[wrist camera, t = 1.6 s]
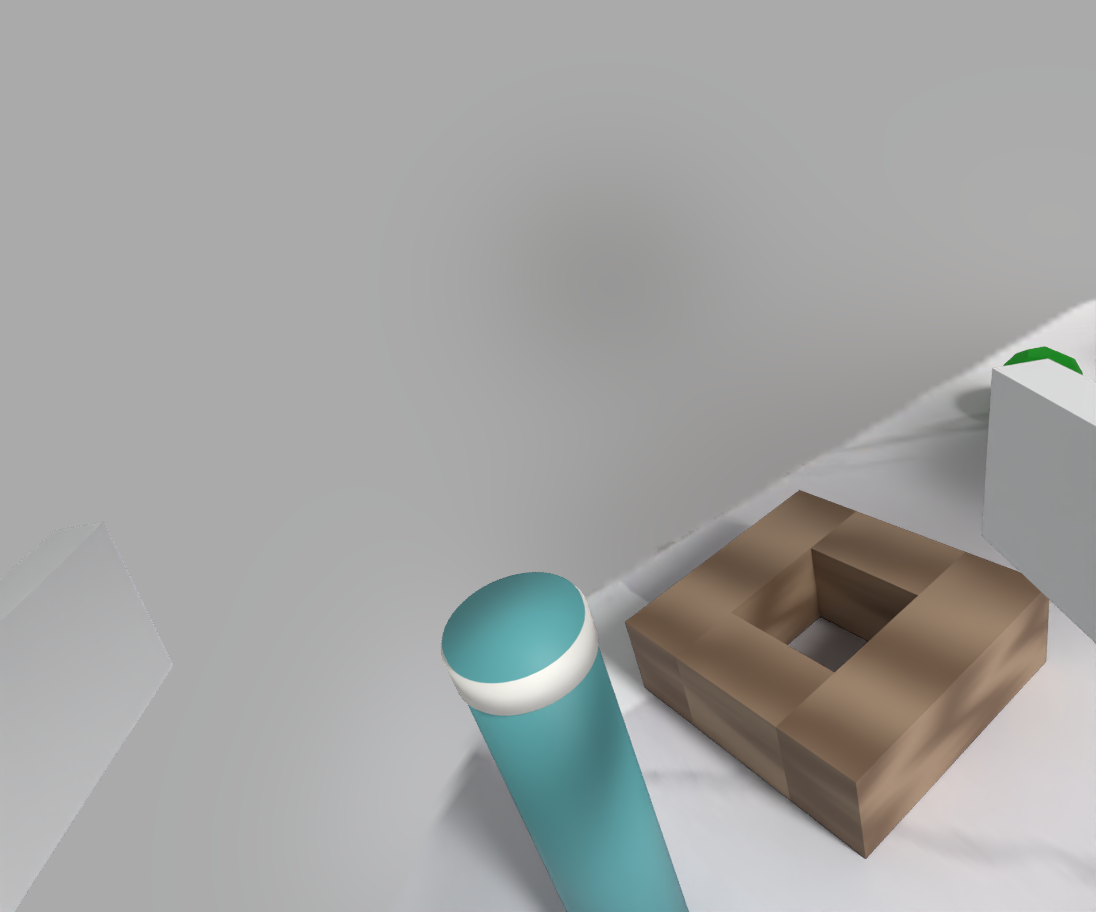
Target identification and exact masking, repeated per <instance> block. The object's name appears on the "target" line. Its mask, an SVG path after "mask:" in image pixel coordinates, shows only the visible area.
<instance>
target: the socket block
mask: <svg viewBox="0 0 1096 912" xmlns="http://www.w3.org/2000/svg"><path fill="white" fill-rule="evenodd" d="M1048 613H1049V599H1048V598H1047V597H1046V596H1045V595H1044V594H1043V593H1042V592H1041V591H1040V590H1039V589H1038V588H1037V587H1036V586H1035V585H1034V584H1032V583H1031V582H1030V581H1029V580H1028V579H1027V578H1026V577H1025V576H1024V575H1023V574H1022V573H1020V572H1018V571H1015V570H1012V569H1010V568H1007V567H1004V566H1002V565H999V564H996V563H994V562H991V561H988V560H986V559H983V558H980V557H978V556H975V555H972V554H970V553H967V552H964V551H961V550H959V549H956V548H953V547H951V546H948V545H945V544H943V543H940V542H937V541H935V540H932V539H929V538H927V537H924V536H921V535H919V534H916V533H913V532H911V531H908V530H905V529H902V528H900V527H897V526H894V525H892V524H889V523H886V522H884V521H881V520H878V519H876V518H873V517H870V516H868V515H865V514H862V513H860V512H857V511H854V510H852V509H849V508H846V507H843V506H841V505H838V504H835V503H833V502H830V501H827V500H825V499H822V498H819V497H817V496H814V495H811V494H809V493H806V492H803V491H801V490H799V491H798V492H796V493H795V494H794V495H792V496H791V497H790V498H788V499H787V500H786V501H784V502H783V503H782V504H781V505H779V506H778V507H777V508H775V509H774V510H773V511H771V512H770V513H769V514H767V515H766V516H765V517H763V518H762V519H761V520H759V521H758V522H757V523H755V524H754V525H753V526H751V527H750V528H749V529H747V530H746V531H745V532H743V533H742V534H741V535H739V536H738V537H737V538H736V539H734V540H733V541H732V542H730V543H729V544H728V545H726V546H725V547H724V548H722V549H721V550H720V551H718V552H717V553H716V554H714V555H713V556H712V557H710V558H709V559H708V560H706V561H705V562H704V563H702V564H701V565H700V566H698V567H697V568H696V569H694V570H693V571H692V572H691V573H689V574H688V575H687V576H685V577H684V578H683V579H681V580H680V581H679V582H677V583H676V584H675V585H673V586H672V587H671V588H669V589H668V590H667V591H665V592H664V593H663V594H661V595H660V596H659V597H657V598H656V599H655V600H653V601H652V602H651V603H649V604H648V605H647V606H646V607H644V608H643V609H642V610H640V611H639V612H638V613H636V614H635V615H634V616H632V617H631V618H630V619H628V620H627V621H626V622H625V624H626V627H627V631H628V634H629V637H630V640H631V644H632V647H633V650H634V653H635V656H636V660H637V663H638V666H639V669H640V673H641V676H642V679H643V682H644V685H645V688H646V689H648V690H649V691H650V692H652V693H653V694H654V695H655V696H657V697H658V698H659V699H661V700H662V701H663V702H664V703H666V704H667V705H668V706H670V707H671V708H672V709H673V710H675V711H676V712H677V713H679V714H680V715H681V716H682V717H684V718H685V719H686V720H688V721H689V722H690V723H691V724H693V725H694V726H695V727H697V728H698V729H699V730H701V731H702V732H703V733H704V734H706V735H707V736H708V737H710V738H711V739H712V740H713V741H715V742H716V743H717V744H719V745H720V746H721V747H722V748H724V749H725V750H726V751H728V752H729V753H730V754H731V755H733V756H734V757H735V758H737V759H738V760H739V761H740V762H742V763H743V764H744V765H746V766H747V767H748V768H749V769H751V770H752V771H753V772H755V773H756V774H757V775H758V776H760V777H761V778H762V779H764V780H765V781H766V782H767V783H769V784H770V785H771V786H773V787H774V788H775V789H777V790H778V791H779V792H780V793H782V794H783V795H784V796H786V797H787V798H788V799H789V800H791V801H792V802H793V803H795V804H796V805H797V806H798V807H800V808H801V809H802V810H804V811H805V812H806V813H807V814H809V815H810V816H811V817H813V818H814V819H815V820H816V821H818V822H819V823H820V824H822V825H823V826H824V827H825V828H827V829H828V830H829V831H831V832H832V833H833V834H834V835H836V836H837V837H838V838H840V839H841V840H842V841H843V842H845V843H846V844H847V845H849V846H850V847H851V848H853V849H854V850H855V851H856V852H858V853H859V854H860V855H862V856H863V857H864V858H865V859H866V858H867V857H868V856H869V855H870V854H871V853H872V852H873V851H874V849H875V848H876V847H877V846H878V845H879V844H880V843H881V842H882V841H883V840H884V838H885V837H886V836H887V835H888V834H889V833H890V832H891V831H892V830H893V829H894V827H895V826H896V825H897V824H898V823H899V822H900V821H901V820H902V819H903V818H904V817H905V815H906V814H907V813H908V812H909V811H910V810H911V809H912V808H913V807H914V806H915V804H916V803H917V802H918V801H919V800H920V799H921V798H922V797H923V796H924V795H925V793H926V792H927V791H928V790H929V789H930V788H931V787H932V786H933V785H934V784H935V783H936V781H937V780H938V779H939V778H940V777H941V776H942V775H943V774H944V773H945V772H946V770H947V769H948V768H949V767H950V766H951V765H952V764H953V763H954V762H955V761H956V760H957V758H958V757H959V756H960V755H961V754H962V753H963V752H964V751H965V750H966V749H967V747H968V746H969V745H970V744H971V743H972V742H973V741H974V740H975V739H976V738H977V736H978V735H979V734H980V733H981V732H982V731H983V730H984V729H985V728H986V727H987V726H988V724H989V723H990V722H991V721H992V720H993V719H994V718H995V717H996V716H997V715H998V713H999V712H1000V711H1001V710H1002V709H1003V708H1004V707H1005V706H1006V705H1007V704H1008V703H1009V701H1010V700H1011V699H1012V698H1013V697H1014V696H1015V695H1016V694H1017V693H1018V692H1019V690H1020V689H1021V688H1022V687H1023V686H1024V685H1025V684H1026V683H1027V682H1028V681H1029V679H1030V678H1031V677H1032V676H1033V675H1034V674H1035V673H1036V672H1037V671H1038V670H1039V669H1040V667H1041V666H1042V665H1043V664H1044V663H1045V662H1046V653H1047V633H1048ZM820 616H821V617H823V618H825V619H827V620H829V621H831V622H832V623H834V624H836V625H838V626H840V627H842V628H844V629H846V630H848V631H850V632H852V633H854V634H856V635H857V636H859V637H861V638H863V639H865V640H867V641H868V642H867V643H866V644H865V645H864V646H863V647H862V648H861V649H860V650H859V651H857V652H856V653H855V654H854V655H853V656H852V657H851V658H850V659H849V660H848V661H847V662H846V663H844V664H843V665H842V666H841V667H840V668H839V669H838V670H837V671H836V672H833V671H831V670H829V669H828V668H826V667H824V666H822V665H821V664H819V663H817V662H816V661H814V660H812V659H810V658H809V657H807V656H805V655H803V654H802V653H800V652H798V651H797V650H795V649H793V648H791V647H790V646H788V644H789V643H790V642H791V641H793V640H794V639H795V638H796V637H797V636H798V635H799V634H801V633H802V632H803V631H804V630H805V629H806V628H808V627H809V626H810V625H811V624H812V623H813V622H814V621H816V620H817V619H818V618H819V617H820Z"/></svg>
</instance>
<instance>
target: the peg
mask: <svg viewBox="0 0 1096 912" xmlns="http://www.w3.org/2000/svg"><path fill="white" fill-rule="evenodd" d="M598 642H599V641H598V634H597V631H596V627H595V624H594V622H593V619H592V616H591V613H590V610H589V607H588V604H587V601H586V598H585V596H584V595H583V593H582V592H581V591H580V590H579V588H577V587H576V586H575V585H574V584H572V583H571V582H570V581H568V580H567V579H565V578H563V577H560V576H558V575H554V574H550V573H543V572H532V573H522V574H516V575H512V576H508V577H505V578H502V579H499V580H497V581H495V582H492V583H490V584H488V585H487V586H484V587H483V588H481V589H479V590H478V591H476V592H475V593H473V594H472V595H471V596H469V597H468V598H467V599H466V600H465V601H464V602H463V603H462V604H461V605H460V606H459V607H458V608H457V609H456V610H455V612H454V613H453V614H452V615H451V617H450V619H449V620H448V622H447V624H446V626H445V629H444V633H443V637H442V643H441V654H442V659H443V661H444V663H445V666H446V668H447V670H448V672H449V674H450V676H451V678H452V680H453V682H454V684H455V686H456V689H457V691H458V693H459V695H460V696H461V697H462V699H463V700H464V701H465V702H466V703H467V704H468V706H469V708H470V710H471V712H472V714H473V716H474V718H475V720H476V722H477V725H478V727H479V729H480V731H481V733H482V735H483V737H484V739H485V741H486V743H487V745H488V748H489V750H490V752H491V754H492V756H493V758H494V760H495V762H496V764H497V766H498V768H499V771H500V773H501V775H502V777H503V779H504V781H505V783H506V785H507V787H508V789H509V791H510V794H511V796H512V798H513V800H514V802H515V804H516V806H517V808H518V810H519V812H520V814H521V817H522V819H523V821H524V823H525V825H526V827H527V829H528V831H529V833H530V835H531V837H532V840H533V842H534V844H535V846H536V848H537V850H538V852H539V854H540V856H541V858H542V861H543V863H544V865H545V867H546V869H547V871H548V873H549V875H550V877H551V879H552V881H553V884H554V886H555V888H556V890H557V892H558V894H559V896H560V898H561V900H562V902H563V904H564V907H565V909H566V911H567V912H689V911H688V908H687V905H686V902H685V899H684V896H683V893H682V890H681V887H680V884H679V881H678V878H677V875H676V873H675V870H674V867H673V864H672V861H671V858H670V855H669V852H668V849H667V846H666V843H665V840H664V837H663V834H662V831H661V828H660V826H659V823H658V820H657V817H656V814H655V811H654V808H653V805H652V802H651V799H650V796H649V793H648V790H647V787H646V784H645V781H644V779H643V776H642V773H641V770H640V767H639V764H638V761H637V758H636V755H635V752H634V749H633V746H632V743H631V740H630V737H629V734H628V732H627V729H626V726H625V723H624V720H623V717H622V714H621V711H620V708H619V705H618V702H617V699H616V696H615V693H614V690H613V687H612V685H611V682H610V679H609V676H608V673H607V670H606V667H605V664H604V661H603V658H602V655H601V652H600V649H599V646H598Z"/></svg>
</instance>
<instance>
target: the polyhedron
mask: <svg viewBox="0 0 1096 912" xmlns="http://www.w3.org/2000/svg"><path fill="white" fill-rule="evenodd" d="M1042 359H1050V360H1052V361H1054V362H1056V363H1058V364H1060V365H1062V366H1064V367H1067V368H1069V369H1071V370H1073V371H1075V372H1077V373H1079V374H1081V375H1083V373H1082V371H1081V369H1080V367H1079V366H1078V364H1077V362H1076V360H1075V359H1073V358H1071V357H1069V356H1067V355H1064V354H1062V353H1059V352H1057V351H1055V350H1052V349H1050V348H1047V347H1039V348H1034V349H1028V350H1025V351H1022V352H1020V353H1017V354H1015V355H1014V356H1013V357H1012V358H1011V359H1010V360H1009V361H1007V362H1006V363H1005V364H1004V366H1008V365H1013V364H1019V363H1025V362H1031V361H1037V360H1042Z"/></svg>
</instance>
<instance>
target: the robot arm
mask: <svg viewBox="0 0 1096 912" xmlns="http://www.w3.org/2000/svg"><path fill="white" fill-rule="evenodd" d="M982 536H983V537H984V538H985V539H986V540H987V541H988V542H989V543H990V544H991V545H992V546H993V547H994V548H995V549H997V550H998V551H999V552H1000V553H1001V554H1002V555H1003V556H1004V557H1005V558H1006V559H1007V560H1008V561H1009V562H1010V563H1011V564H1012V565H1013V566H1014V567H1016V568H1017V569H1018V570H1019V571H1020V572H1021V573H1022V574H1023V575H1024V576H1025V577H1026V578H1027V579H1028V580H1029V581H1030V582H1031V583H1032V584H1034V585H1035V586H1036V587H1037V588H1038V589H1039V590H1040V591H1041V592H1042V593H1043V594H1044V595H1045V596H1046V597H1047V598H1048V599H1049V600H1050V601H1052V602H1053V603H1054V604H1055V605H1056V606H1057V607H1058V608H1059V609H1060V610H1061V611H1062V612H1063V613H1064V614H1065V615H1066V616H1067V617H1068V618H1070V619H1071V620H1072V621H1073V622H1074V623H1075V624H1076V625H1077V626H1078V627H1079V628H1080V629H1081V630H1082V631H1083V632H1084V633H1085V634H1086V635H1087V636H1089V637H1090V638H1091V639H1092V640H1093V641H1094V642H1095V643H1096V381H1094V380H1091V379H1089V378H1087V377H1085V376H1083V375H1081V374H1079V373H1077V372H1075V371H1073V370H1071V369H1069V368H1067V367H1064V366H1062V365H1060V364H1058V363H1056V362H1054V361H1052V360H1050V359H1042V360H1037V361H1031V362H1025V363H1019V364H1013V365H1008V366H1002V367H996V368H992V382H991V397H990V412H989V427H988V443H987V458H986V473H985V489H984V504H983V519H982ZM172 667H173V664H172V662H171V660H170V658H169V656H168V654H167V652H166V650H165V648H164V646H163V644H162V642H161V640H160V638H159V635H158V633H157V631H156V629H155V627H154V625H153V623H152V621H151V619H150V617H149V615H148V613H147V611H146V609H145V606H144V604H143V602H142V600H141V598H140V596H139V594H138V592H137V590H136V588H135V586H134V584H133V582H132V579H131V577H130V575H129V573H128V571H127V569H126V567H125V565H124V563H123V561H122V559H121V557H120V555H119V553H118V551H117V548H116V546H115V544H114V542H113V540H112V538H111V536H110V534H109V532H108V530H107V528H106V526H105V524H104V522H100V523H94V524H89V525H83V526H78V527H71V528H66V529H60V530H55V531H54V532H53V533H52V534H51V535H49V536H48V537H47V538H46V539H45V540H44V541H43V542H41V543H40V544H39V545H38V546H37V547H36V548H35V549H34V550H32V551H31V552H30V553H29V554H28V555H27V556H26V557H24V558H23V559H22V560H21V561H20V562H19V563H18V564H17V565H15V566H14V567H13V568H12V569H11V570H10V571H9V572H8V573H6V574H5V575H4V576H3V577H2V578H1V579H0V912H15V911H16V909H17V907H18V906H19V904H20V903H21V901H22V900H23V898H24V897H25V895H26V893H27V892H28V890H29V888H30V887H31V886H32V884H33V883H34V881H35V879H36V878H37V876H38V875H39V873H40V872H41V870H42V868H43V867H44V866H45V864H46V862H47V861H48V859H49V858H50V856H51V855H52V853H53V851H54V850H55V848H56V847H57V845H58V844H59V842H60V841H61V839H62V837H63V836H64V834H65V833H66V831H67V830H68V828H69V826H70V825H71V823H72V822H73V820H74V819H75V817H76V816H77V814H78V813H79V811H80V810H81V808H82V806H83V805H84V803H85V802H86V800H87V799H88V797H89V796H90V794H91V792H92V791H93V789H94V788H95V786H96V785H97V783H98V782H99V780H100V779H101V777H102V775H103V774H104V772H105V771H106V769H107V767H108V766H109V764H110V763H111V761H112V760H113V758H114V756H115V755H116V754H117V752H118V751H119V749H120V747H121V746H122V744H123V743H124V741H125V740H126V738H127V737H128V735H129V733H130V732H131V730H132V729H133V727H134V726H135V724H136V723H137V721H138V719H139V718H140V716H141V715H142V713H143V711H144V710H145V709H146V707H147V705H148V704H149V702H150V701H151V699H152V698H153V696H154V695H155V693H156V692H157V690H158V688H159V687H160V685H161V684H162V682H163V681H164V679H165V678H166V676H167V674H168V673H169V671H170V670H171V668H172Z"/></svg>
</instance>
